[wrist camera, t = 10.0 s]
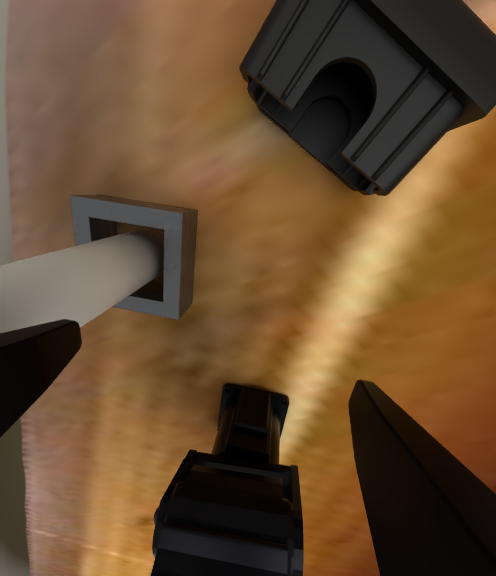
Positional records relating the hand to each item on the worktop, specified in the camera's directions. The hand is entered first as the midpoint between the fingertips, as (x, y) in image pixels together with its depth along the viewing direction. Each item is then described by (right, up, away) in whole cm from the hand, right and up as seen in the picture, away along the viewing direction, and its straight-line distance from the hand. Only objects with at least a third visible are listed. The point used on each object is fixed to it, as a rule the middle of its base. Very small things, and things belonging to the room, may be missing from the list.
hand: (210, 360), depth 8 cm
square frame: (-7, +5, +13) cm, 16 cm away
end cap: (+7, +14, +8) cm, 18 cm away
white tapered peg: (-7, +5, +13) cm, 16 cm away
